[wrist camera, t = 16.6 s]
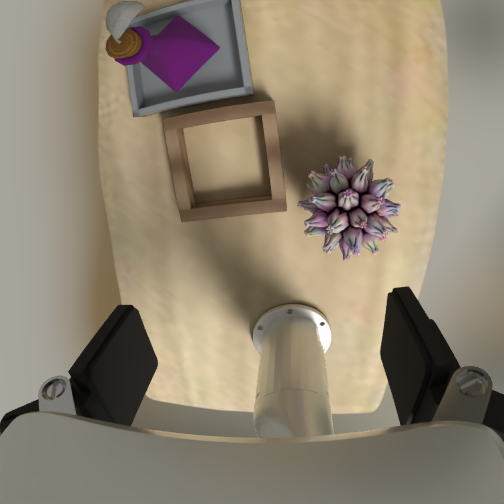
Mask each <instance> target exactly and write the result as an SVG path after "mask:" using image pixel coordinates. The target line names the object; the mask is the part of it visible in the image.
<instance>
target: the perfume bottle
mask: <svg viewBox="0 0 504 504" xmlns="http://www.w3.org/2000/svg"><path fill="white" fill-rule="evenodd" d="M144 8H145V6H144V5H143V4H142V3H139V2H137V1H124V2H118V3H117V4H115V5H113V6H112V7H111V8H110V9H109V11H108V12H107V15H106V19H105V20H106V27H107V29H108V31H109V32H110V33H111V36H110V37H109V38H108V40H107V42H106V51H107V53H108V55H109V56H111V57H113V58H115V61H117V62H119V63H120V64H122V65H124V66H126V65H135V64H137V63H139V62H141V63H142V64H143V65H144V66H146V67H147V68H148V69H149V70H150V71H151V72H153V73H154V74H155V75H156V76H157V77H158V78H160V79H161V80H162V81H163V82H164V83H165V84H166V85H168V86H169V87H170V88H171V89H172V90H173V91H174V92H178V91H179V90H180V89H181V88H182V87H183V86H184V85H185V83H186V82H187V81H188V80H189V79H190V78H191V77H192V76H193V75H194V74H195V73H196V72H197V71H198V70H199V69H200V68H201V67H202V66H203V65H204V64H205V63H206V62H207V61H208V60H209V59H210V58H211V57H212V56H213V55H214V54H215V53H216V52H217V51H218V50H219V49H220V47H219V46H218V45H217V44H216V43H215V42H213V41H212V40H211V39H210V38H208V37H207V36H206V35H205V34H203V33H202V32H201V31H199V30H198V29H197V28H196V27H194V26H193V25H192V24H190V23H189V22H188V21H186V20H185V19H183V18H182V17H181V16H179V15H177V16H176V17H175V18H173V19H172V20H171V21H170V22H169V23H168V25H167V26H166V27H165V28H164V29H163V30H162V31H161V32H160V33H159V34H157V35H153V36H151V34H150V32H149V30H147V29H145V28H143V27H141V26H136V27H129V28H127V27H128V26H129V24H130V23H131V21H132V20H133V19H134V18H135V16H136V15H137V14H138V13H139V12H140V11H141V10H143V9H144Z"/></svg>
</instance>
